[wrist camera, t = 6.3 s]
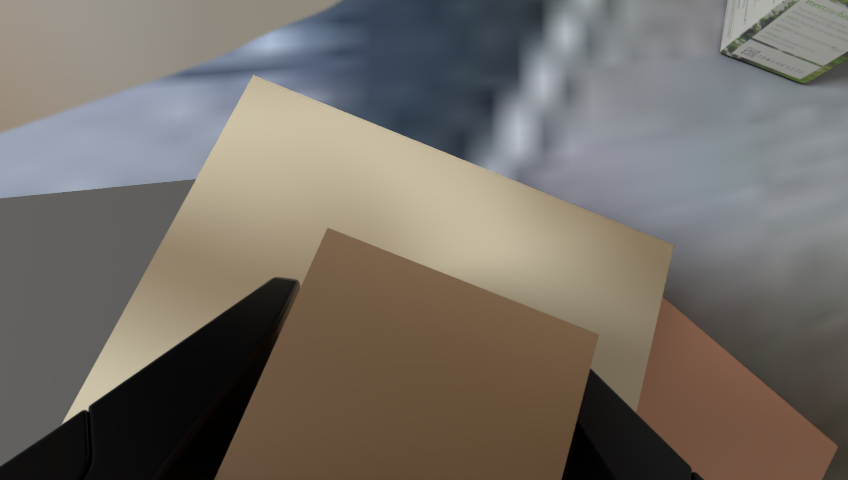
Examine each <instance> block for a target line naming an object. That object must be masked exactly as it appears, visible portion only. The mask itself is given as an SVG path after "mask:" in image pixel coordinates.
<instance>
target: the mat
mask: <svg viewBox="0 0 848 480" xmlns="http://www.w3.org/2000/svg"><path fill="white" fill-rule="evenodd" d="M195 180H196V179H193V180H183V181H173V182H163V183H153V184H143V185H133V186H123V187H113V188H103V189H93V190H83V191H73V192H62V193H52V194H42V195H32V196H22V197H12V198H2V199H0V466H1V465H2V464H4V463H5V462H7V461H8V460H10V459H11V458H13V457H14V456H16V455H17V454H19V453H20V452H22V451H23V450H25V449H26V448H28V447H29V446H31V445H32V444H34V443H35V442H37V441H38V440H40V439H41V438H43V437H44V436H46V435H47V434H49V433H50V432H52V431H53V430H55V429H56V428H57V427H59V426H60V425H61V424H62V423H63V421H64V419H65V417H66V415H67V414H68V412H69V410H70V408H71V406H72V404H73V403H74V401H75V399H76V397H77V395H78V394H79V392H80V390H81V388H82V386H83V384H84V383H85V381H86V379H87V377H88V375H89V373H90V372H91V370H92V368H93V366H94V364H95V363H96V361H97V359H98V357H99V355H100V353H101V352H102V350H103V348H104V346H105V344H106V343H107V341H108V339H109V337H110V335H111V333H112V332H113V330H114V328H115V326H116V324H117V323H118V321H119V319H120V317H121V315H122V313H123V312H124V310H125V308H126V306H127V304H128V302H129V301H130V299H131V297H132V295H133V293H134V292H135V290H136V288H137V286H138V284H139V282H140V281H141V279H142V277H143V275H144V273H145V272H146V270H147V268H148V266H149V264H150V262H151V261H152V259H153V257H154V255H155V253H156V251H157V250H158V248H159V246H160V244H161V242H162V241H163V239H164V237H165V235H166V233H167V231H168V230H169V228H170V226H171V224H172V222H173V221H174V219H175V217H176V215H177V213H178V211H179V210H180V208H181V206H182V204H183V202H184V201H185V199H186V197H187V195H188V193H189V191H190V190H191V188H192V186H193V184H194V182H195Z"/></svg>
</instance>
